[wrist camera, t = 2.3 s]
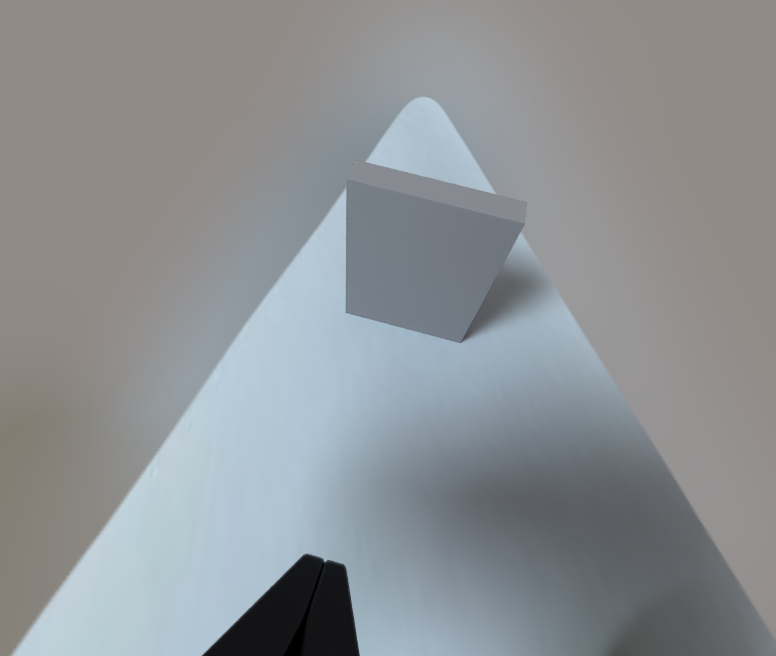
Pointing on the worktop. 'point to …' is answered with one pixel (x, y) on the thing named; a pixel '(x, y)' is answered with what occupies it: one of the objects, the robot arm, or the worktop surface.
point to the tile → (423, 249)
